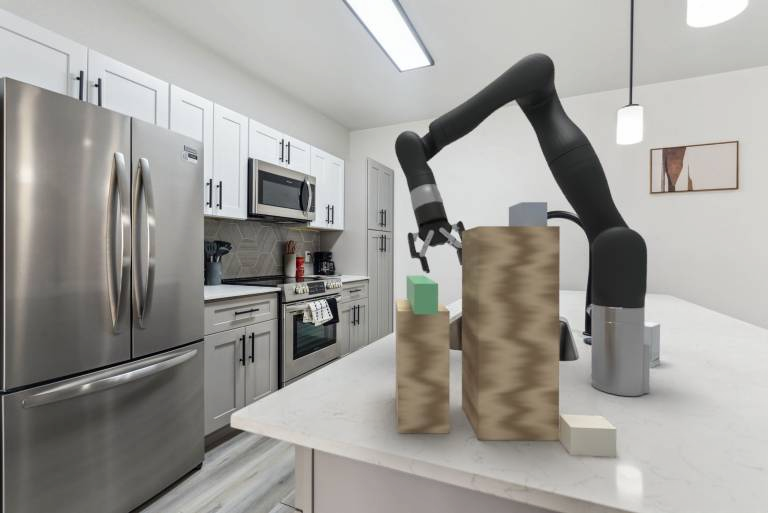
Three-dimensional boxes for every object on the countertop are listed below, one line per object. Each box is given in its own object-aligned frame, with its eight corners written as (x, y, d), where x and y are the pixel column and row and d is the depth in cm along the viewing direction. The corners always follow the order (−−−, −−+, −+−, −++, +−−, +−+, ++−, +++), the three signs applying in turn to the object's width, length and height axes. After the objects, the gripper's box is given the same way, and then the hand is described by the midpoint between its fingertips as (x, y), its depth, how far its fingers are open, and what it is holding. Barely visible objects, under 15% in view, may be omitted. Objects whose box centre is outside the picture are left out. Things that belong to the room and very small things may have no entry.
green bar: (423, 297, 73) (423, 275, 73) (438, 314, 53) (438, 283, 53) (406, 297, 73) (406, 275, 73) (414, 314, 53) (414, 283, 53)
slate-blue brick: (531, 230, 63) (531, 207, 63) (547, 227, 57) (547, 202, 57) (508, 230, 63) (508, 207, 63) (521, 227, 57) (521, 202, 57)
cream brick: (601, 442, 53) (601, 415, 53) (616, 457, 50) (616, 428, 49) (559, 440, 54) (559, 414, 54) (570, 455, 50) (570, 427, 50)
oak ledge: (436, 397, 70) (436, 299, 70) (449, 433, 56) (449, 311, 56) (395, 397, 70) (395, 299, 70) (397, 433, 56) (397, 311, 56)
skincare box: (604, 358, 96) (604, 319, 96) (614, 354, 100) (615, 316, 100) (651, 369, 87) (651, 325, 87) (660, 364, 91) (661, 322, 91)
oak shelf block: (527, 406, 66) (528, 231, 66) (558, 440, 54) (559, 226, 54) (461, 406, 66) (462, 231, 66) (478, 440, 54) (478, 226, 54)
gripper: (453, 206, 94) (470, 265, 90) (400, 218, 93) (415, 278, 89) (458, 194, 86) (477, 258, 83) (400, 207, 86) (417, 272, 82)
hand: (445, 268), depth 86 cm, fingers open, 8 cm apart
